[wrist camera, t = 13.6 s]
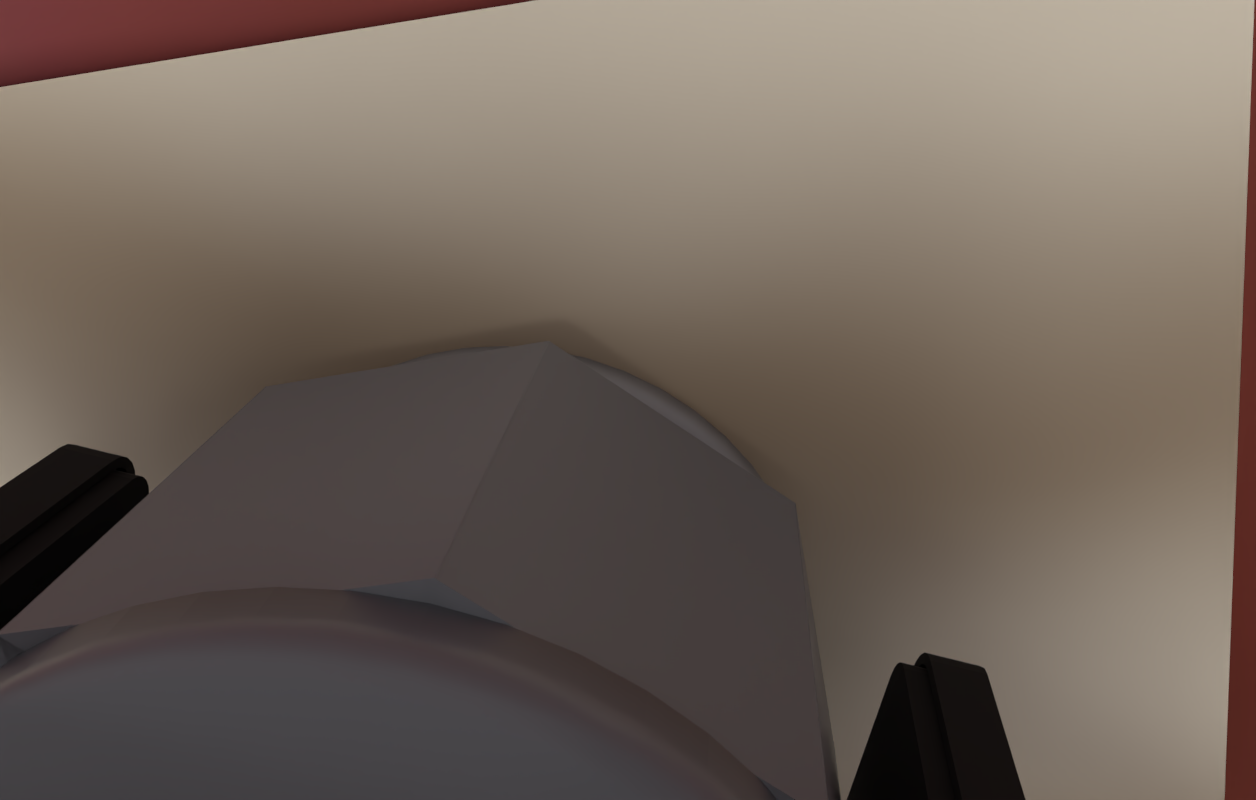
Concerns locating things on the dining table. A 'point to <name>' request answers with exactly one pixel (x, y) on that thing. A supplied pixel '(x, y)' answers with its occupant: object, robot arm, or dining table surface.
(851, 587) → the board
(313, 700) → the cap
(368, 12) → the dining table surface
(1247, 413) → the dining table surface
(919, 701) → the robot arm
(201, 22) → the dining table surface
